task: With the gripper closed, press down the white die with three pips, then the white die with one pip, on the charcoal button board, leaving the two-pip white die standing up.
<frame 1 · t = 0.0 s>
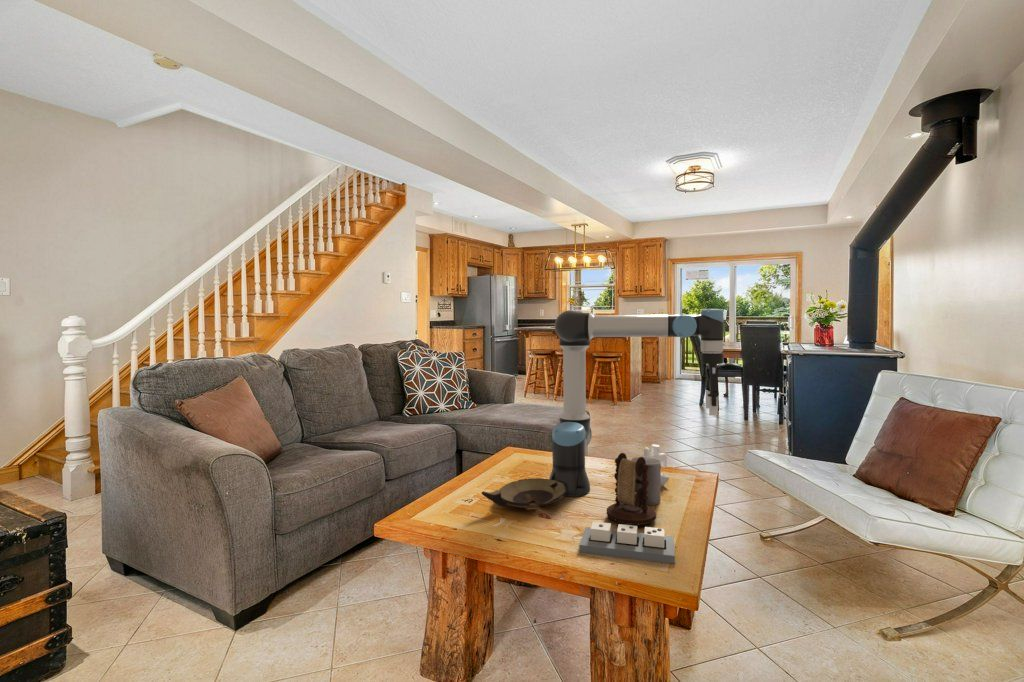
hand: (711, 411, 180), 28 cm above the table, fingers open, 13 cm apart
white die 2: (627, 533, 136), point 4 cm above the table, slide at 0.0 cm
button board: (627, 547, 136), on the table
scroll: (631, 520, 155), on the table
figurine: (655, 485, 187), on the table
pillar candle: (645, 500, 171), on the table
white die 3: (654, 536, 134), point 4 cm above the table, slide at 0.0 cm
oil lamp: (523, 504, 168), on the table, touching arm
white die 1: (600, 531, 138), point 4 cm above the table, slide at 0.0 cm
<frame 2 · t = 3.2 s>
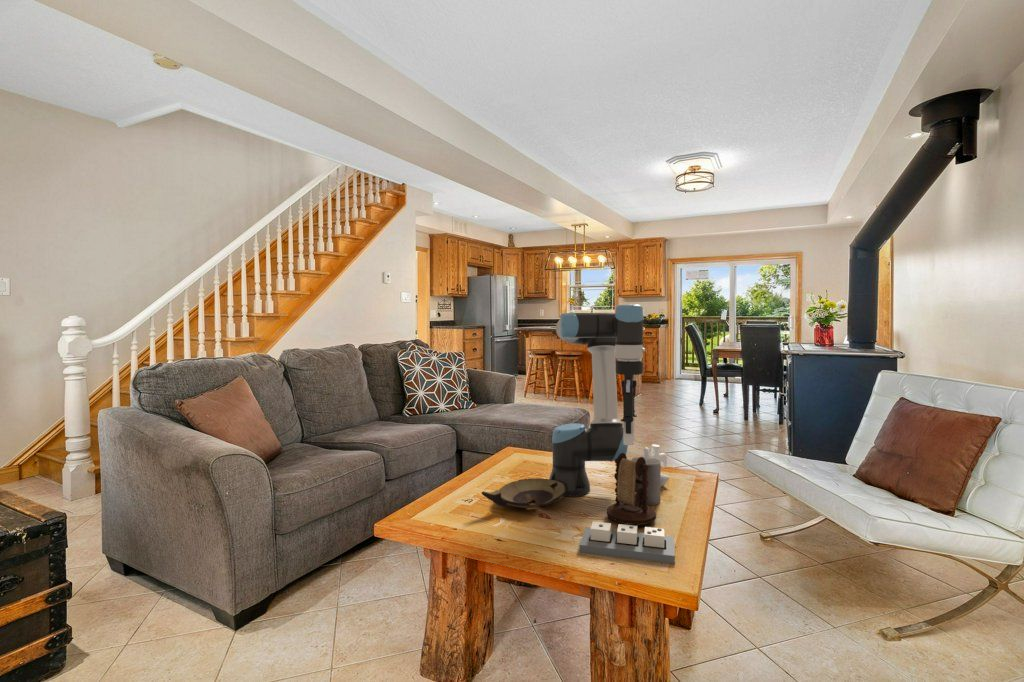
hand: (629, 442, 142), 27 cm above the table, fingers open, 5 cm apart
nothing on the table moved.
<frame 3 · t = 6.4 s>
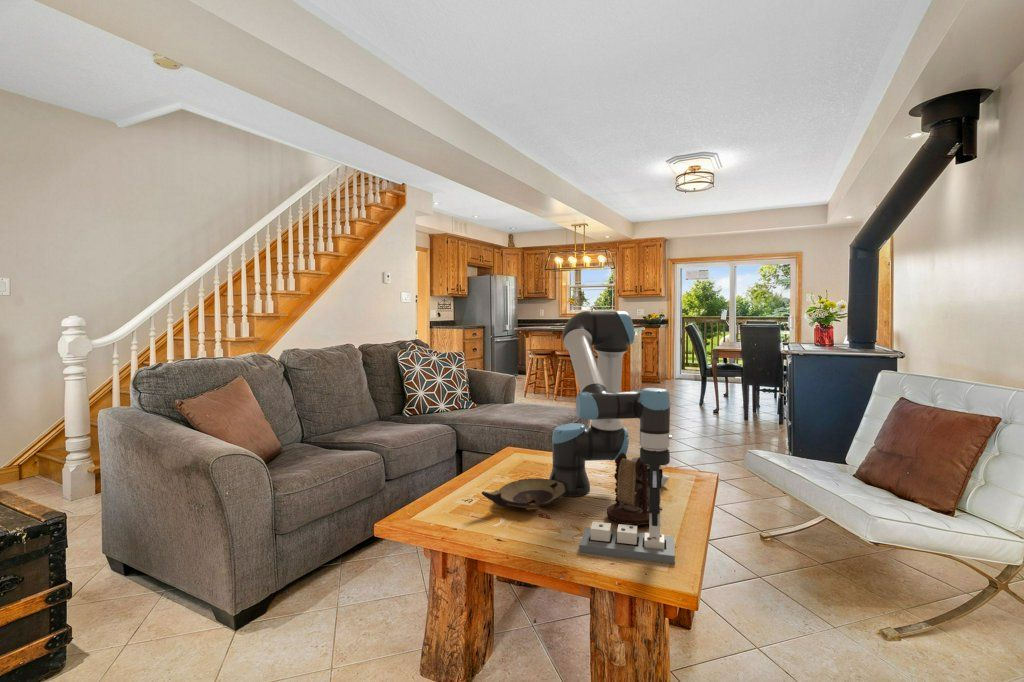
hand: (654, 536, 133), 4 cm above the table, fingers closed
white die 3: (654, 542, 134), point 2 cm above the table, slide at 1.6 cm, touching gripper
everything else where it was.
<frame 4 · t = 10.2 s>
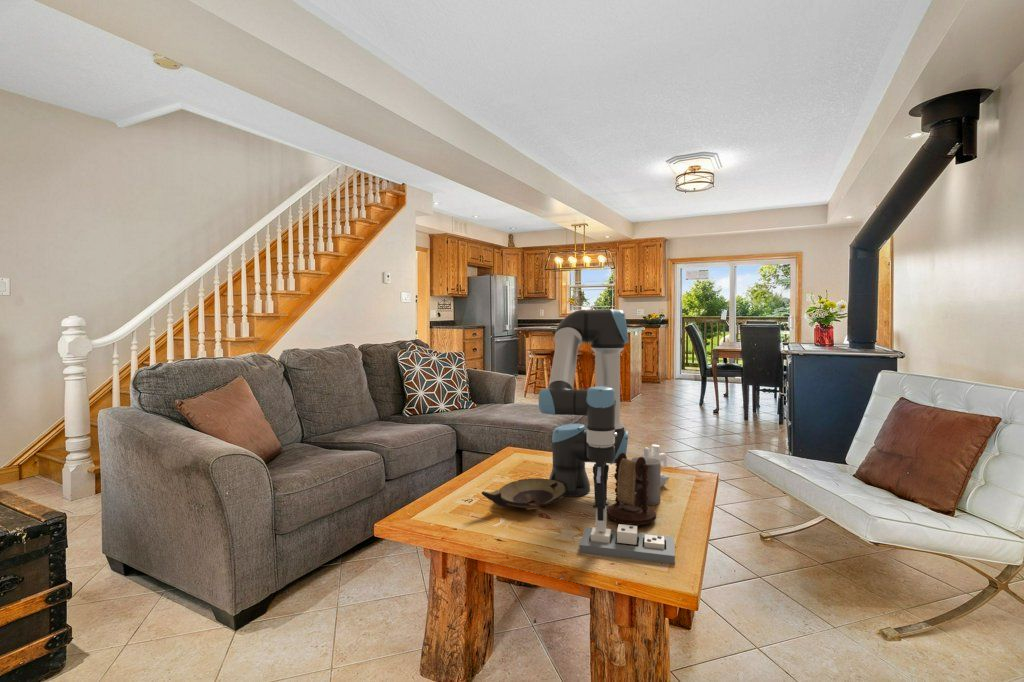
hand: (600, 530, 137), 4 cm above the table, fingers closed
white die 3: (654, 544, 134), point 2 cm above the table, slide at 2.1 cm
white die 1: (600, 536, 138), point 2 cm above the table, slide at 1.6 cm, touching gripper
everything else where it was.
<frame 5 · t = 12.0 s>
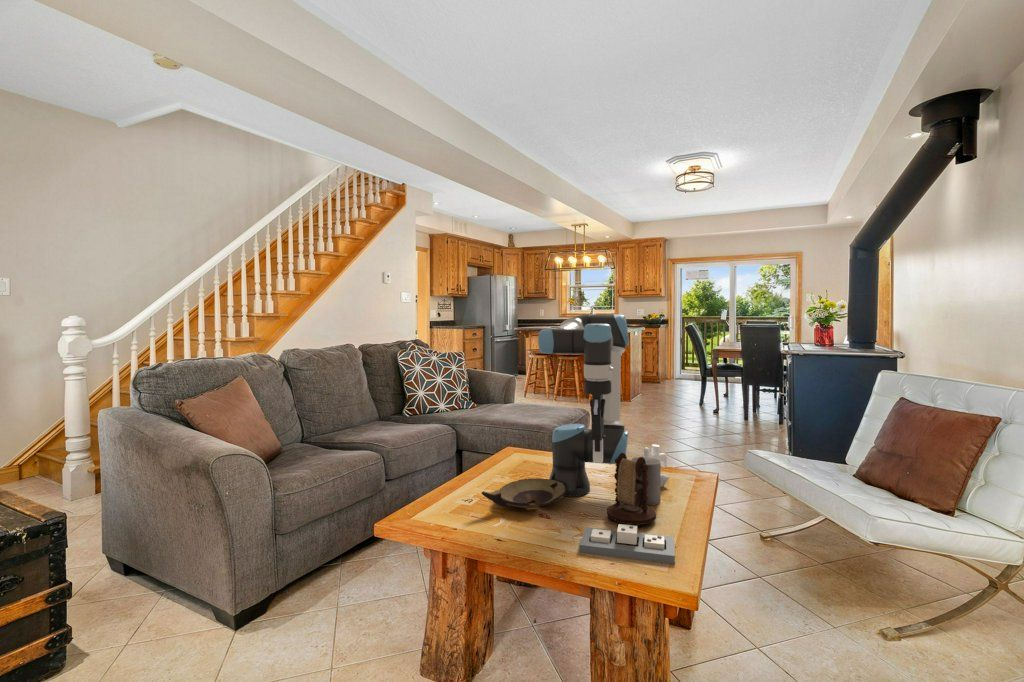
hand: (598, 461, 143), 21 cm above the table, fingers closed
white die 1: (600, 538, 138), point 2 cm above the table, slide at 2.1 cm
everything else where it was.
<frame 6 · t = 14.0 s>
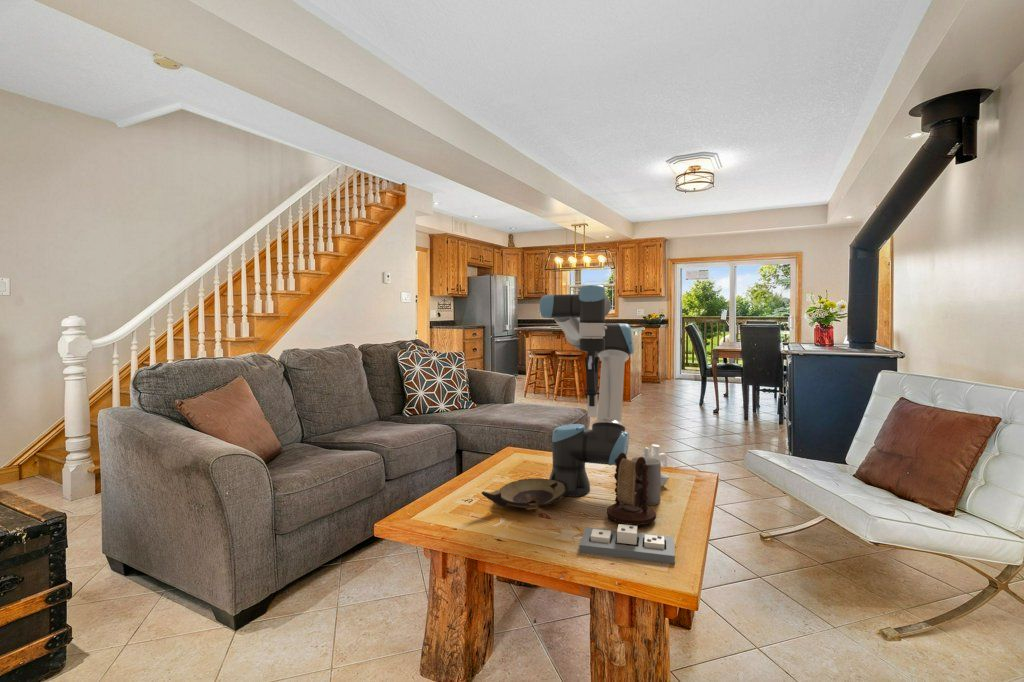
hand: (592, 416, 151), 32 cm above the table, fingers closed
nothing on the table moved.
at the end: white die 3 slide at 2.1 cm; white die 1 slide at 2.1 cm; white die 2 slide at 0.0 cm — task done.
